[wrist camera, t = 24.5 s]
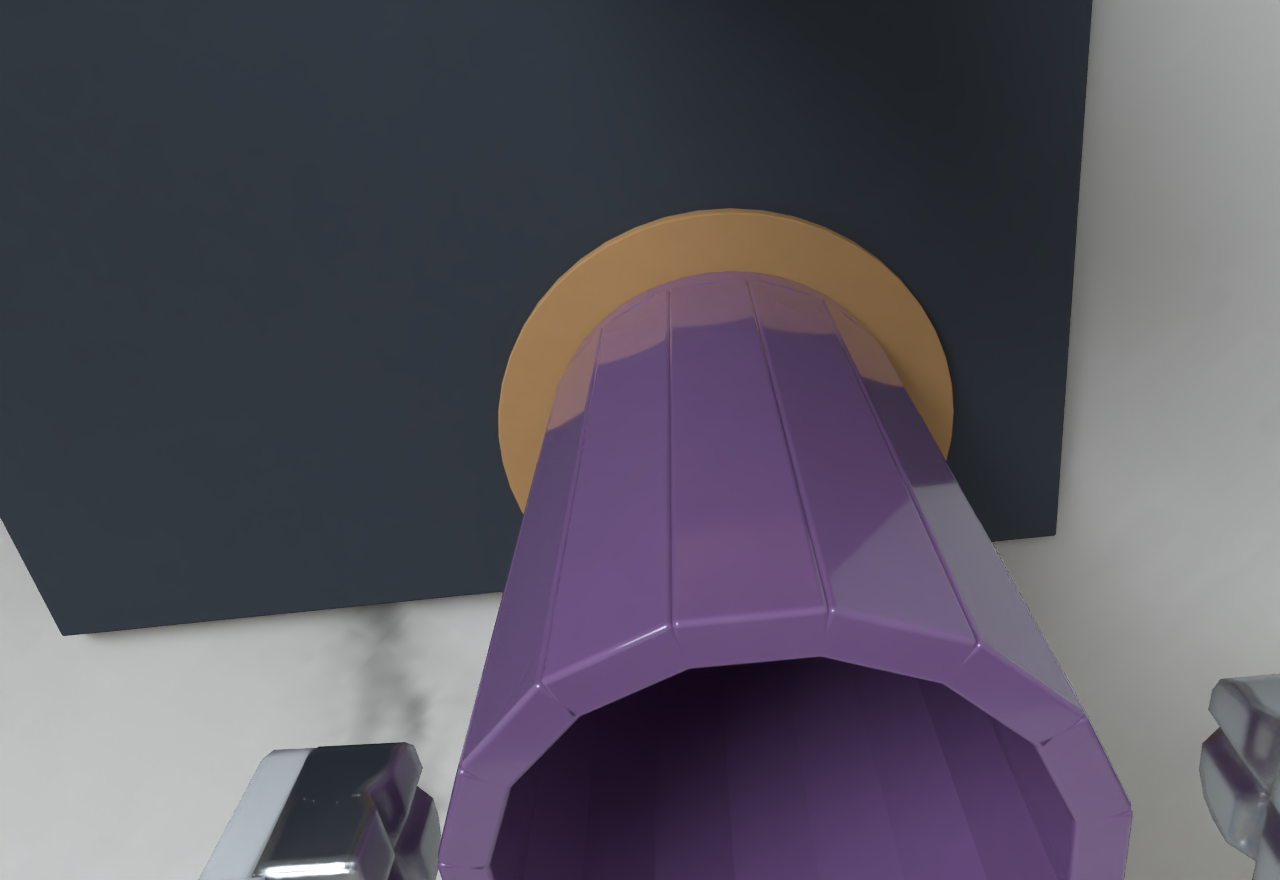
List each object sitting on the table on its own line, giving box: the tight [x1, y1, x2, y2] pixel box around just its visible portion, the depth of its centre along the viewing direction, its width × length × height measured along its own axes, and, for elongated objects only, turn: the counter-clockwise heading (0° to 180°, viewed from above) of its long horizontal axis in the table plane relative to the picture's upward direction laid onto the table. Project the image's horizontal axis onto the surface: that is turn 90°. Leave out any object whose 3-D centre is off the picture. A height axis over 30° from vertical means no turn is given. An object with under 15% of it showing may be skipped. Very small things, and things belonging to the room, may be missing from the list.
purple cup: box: [437, 271, 1132, 880], centre depth 13 cm, size 6×6×9 cm
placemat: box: [0, 0, 1092, 636], centre depth 15 cm, size 20×20×1 cm
